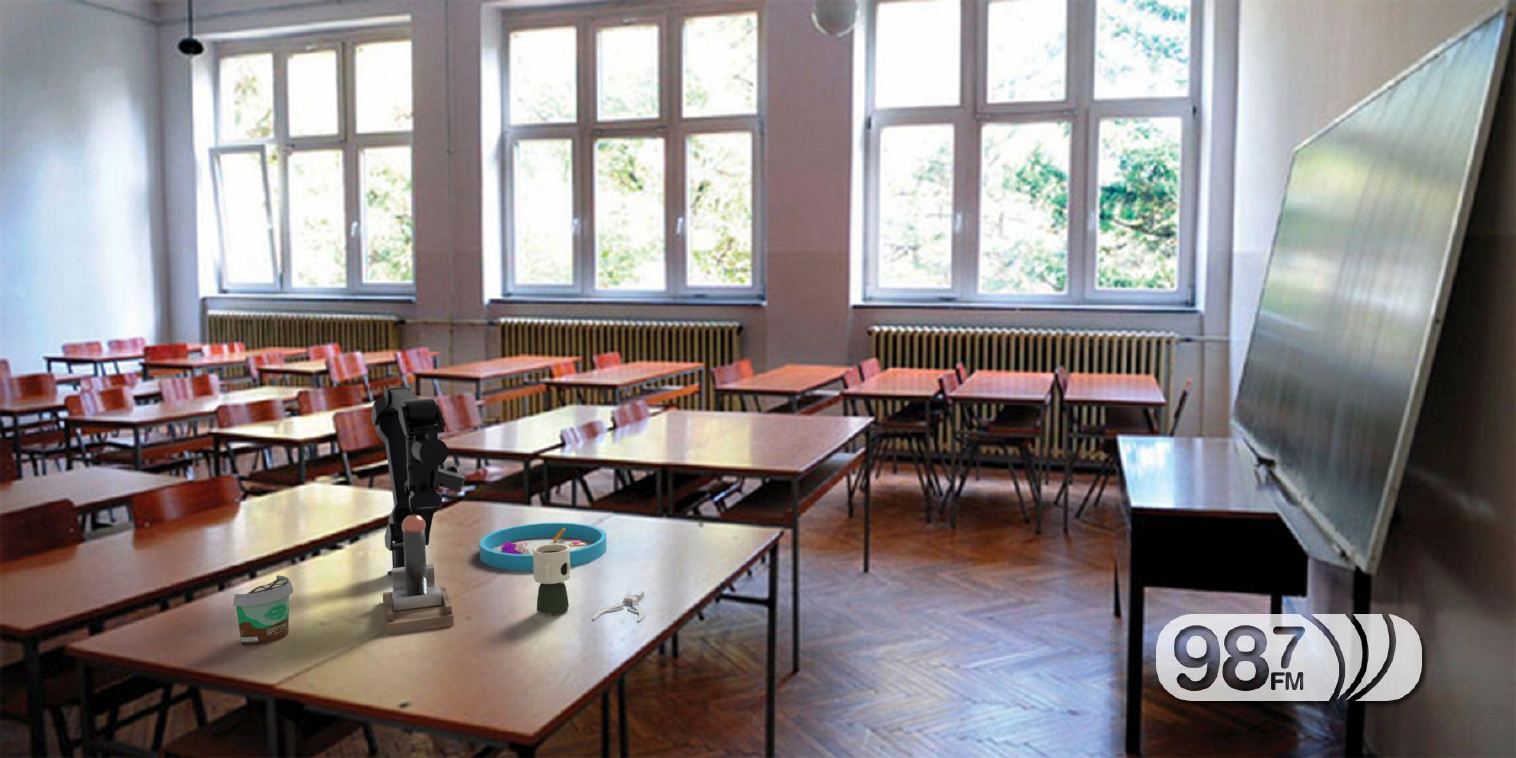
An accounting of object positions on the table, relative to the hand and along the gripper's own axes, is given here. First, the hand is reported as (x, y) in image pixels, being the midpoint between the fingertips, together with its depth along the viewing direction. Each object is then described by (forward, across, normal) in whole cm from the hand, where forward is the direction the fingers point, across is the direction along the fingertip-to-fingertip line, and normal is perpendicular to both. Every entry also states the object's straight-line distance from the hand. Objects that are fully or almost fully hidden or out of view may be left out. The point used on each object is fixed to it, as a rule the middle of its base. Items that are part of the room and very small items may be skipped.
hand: (424, 532), depth 207 cm
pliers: (+14, -27, -36) cm, 47 cm away
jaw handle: (+11, -14, +3) cm, 18 cm away
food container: (+13, -16, +28) cm, 35 cm away
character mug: (+13, -23, -22) cm, 35 cm away
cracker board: (+13, -13, +3) cm, 19 cm away
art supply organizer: (+14, +20, -28) cm, 38 cm away
